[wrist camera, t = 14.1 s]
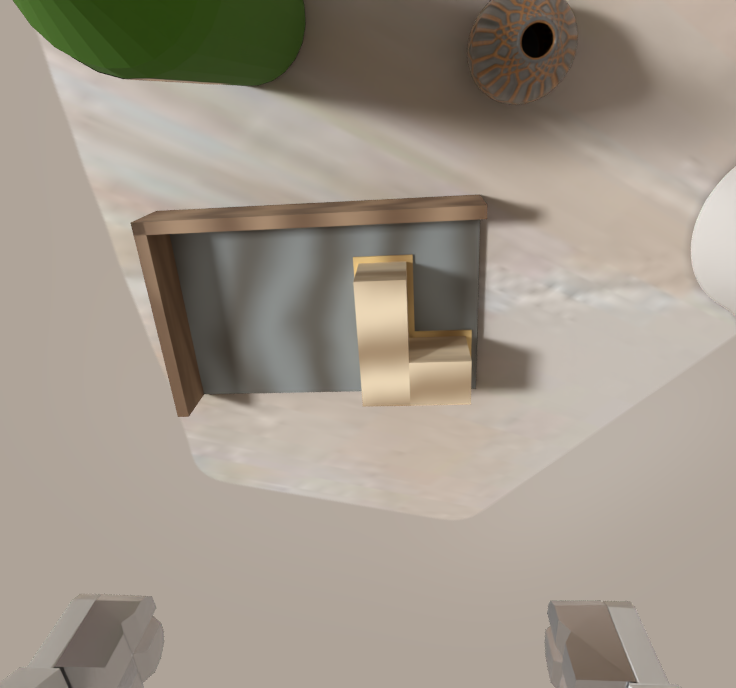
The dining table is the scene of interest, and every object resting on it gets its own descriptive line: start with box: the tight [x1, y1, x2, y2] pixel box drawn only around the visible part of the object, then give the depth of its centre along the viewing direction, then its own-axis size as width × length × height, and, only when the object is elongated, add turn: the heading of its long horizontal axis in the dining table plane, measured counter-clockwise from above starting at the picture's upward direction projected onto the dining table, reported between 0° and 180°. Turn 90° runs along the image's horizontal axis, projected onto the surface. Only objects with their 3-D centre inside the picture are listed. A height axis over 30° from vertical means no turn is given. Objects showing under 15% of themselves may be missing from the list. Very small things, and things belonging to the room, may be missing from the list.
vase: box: [467, 0, 578, 105], centre depth 35 cm, size 7×7×9 cm
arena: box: [131, 195, 487, 417], centre depth 46 cm, size 27×18×5 cm, turn 93°
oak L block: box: [353, 261, 472, 406], centre depth 45 cm, size 11×9×5 cm
